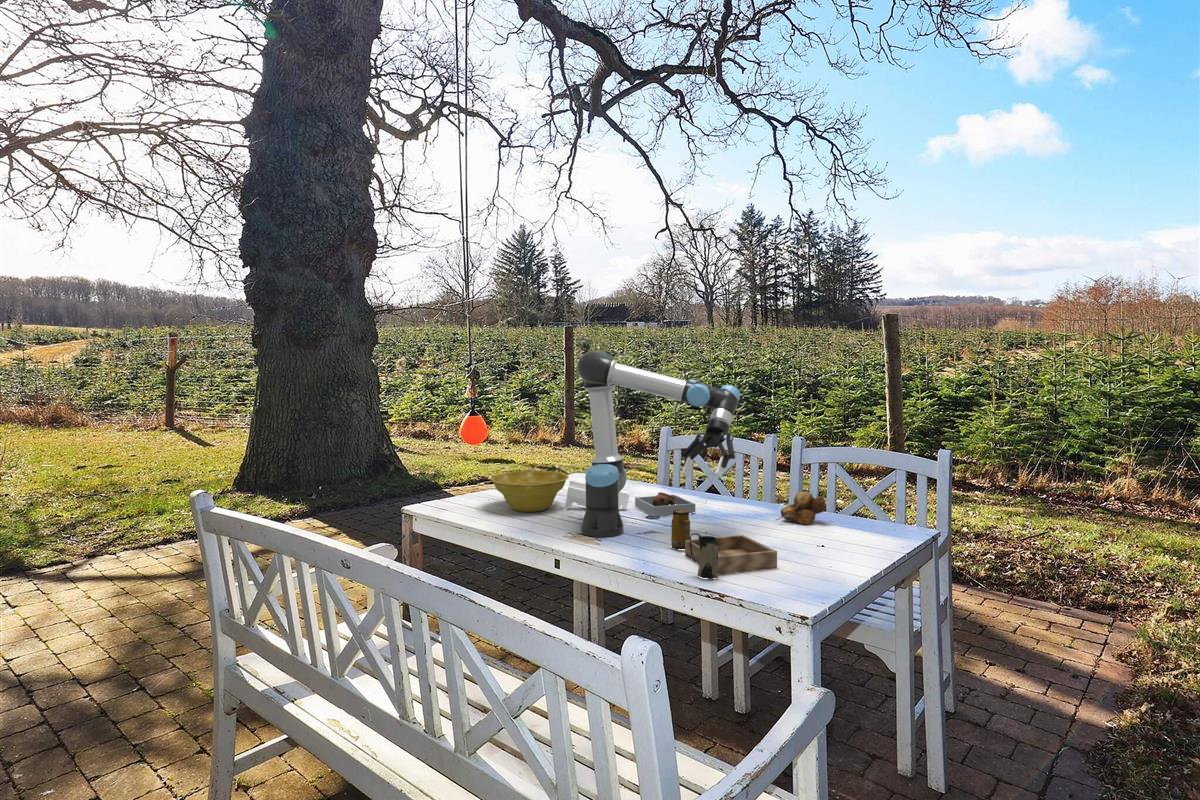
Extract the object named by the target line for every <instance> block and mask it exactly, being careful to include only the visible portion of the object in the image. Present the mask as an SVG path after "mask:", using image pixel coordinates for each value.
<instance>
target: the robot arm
mask: <svg viewBox="0 0 1200 800" xmlns="http://www.w3.org/2000/svg"><path fill="white" fill-rule="evenodd" d="M576 369H577V373H578V375H579V377H580V378H581V379H582V380H583V386H584V390H585V391H587V392H588V396H589V406H590V415H591V416H590V417H591V426H592V427H591V428H592V436H593V445H594V454H595V455H594V456H595V457H594V458H593V459H592V460H591V465H590V466H589V467H588V468H587V469H586V470H585V476H584V479H585V483H586V506H585V512H584V516H583V518H582V522H581V525H580V533H581V534H583V535H585V536H588V537H595V538H608V537H609V538H610V537H616V536H620V535H623V533H624V524H623V521H622V517H621V515H620V511H619V509H620V508H618V493H619V492H620V491H623V489H624V487H625V485H626V482H627V472H626V470H625V468H624V460H623V457H622V456H621V455H619V452H618V451H619V450H618V442H617V431H616V420H615V412H614V402H613V401H614V399H613V390H614V389H615V387H616V386H618V387H623V388H627V389H631V390H634V391H635V390H636V391H639V392H643V393H646V394H650V395H654V396H658V397H663V398H666V399H670V400H673V401H678V402H682V403H685V404H688V405H689V404H690V406H693V407H697V408H700V407H703V406H704V407H705V406H706V407H708V408H710V409H712V412H711V414H710V418H709V420H708V423H707V425H706V427H705V434H704V435H701V434H700V433H698V434H697V435H696V436H695V439H694V440H693V441H692V442H691V443H690V444H689V446H688V447H687V448H686V449H685V450H684V451H683V453H681V456H682V457H683V458H684V459H685V460H684V462H683V468H682V471H681V474H682V475H683V476H684V477H685V478H688V477H689V474H690V471H691V468H692V466H693V463H694V459H695V458H696V457H697V456H699V455H700V454H702V452H703V451H704V450H707V449H711V448H714V449H715V448H717V447H718V449H719V451H720V452H721V454H722V456H720V459H719V461H718V464H717V466H716V470H715V475H716V476H717V477H718V479H719V478H722V476H723V473H724V470H725V469H726V468H727V466H728V463H729V461H730V460H735V458H736V455H735V450H734V449H735V448H734V443H733V440H734V437H733V435H732V434H731V433H730V432H729V430H730V427H731V424H732V421H733V418H734V415H735V412H736V410H737V407H738V405H739V401H740V397H741V393H740V390H739V389H738V387H736V386H734V385H727V384H724V385H722V386H721V388H718V387H715V386H713V385H708V384H706V383H703V382H701V381H699V380H695V379H688V380H685V379H681V378H677V377H673V376H670V375H665V374H662V373H659V372H654V371H649V370H646V369H642V368H638V367H635V366H630V365H626V364H623V363H619V362H618V361H617V360H616V358H613V357H612V356H611V355H610V354H609V353H607V352H605V351H603V350H601V351H598V350H590V351H586V352H585V353H583V354H581V356H580V357H579V359H578V361H577V363H576ZM724 442H726V448H727V451H726V449H725V447H724V445H723V443H724Z"/></svg>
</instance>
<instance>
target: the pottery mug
mask: <svg viewBox="0 0 1200 800" xmlns="http://www.w3.org/2000/svg"><path fill="white" fill-rule="evenodd" d="M670 495H671V494H668V493H665V492H662V491H659V492H658V494H657V495H654V496H655V497H654V498H653V499H654V500H653V502H652V505H653V506H667V505H669V504H670V505H675V503H674V500H675V498H673V497H672V496H670Z"/></svg>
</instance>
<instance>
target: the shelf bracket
mask: <svg viewBox="0 0 1200 800" xmlns="http://www.w3.org/2000/svg"><path fill="white" fill-rule="evenodd" d="M630 494H631V493H629V492H628V491H626V490H625V491H624V490H621V491H620V492H619V493H618V509H623V510H626V509H627V508H628V504H629V501H630V500H629V498H630ZM573 503H576V504H577V505H578V506H581V507H582V506H583V507H586V482H582V481H577V480H572V479H570V480H569V484H568V487H567V492H566V499H565V503H564V504H565V505H564V509H567V510H569V509H570V508H571V507H572V506H573Z"/></svg>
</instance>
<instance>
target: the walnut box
mask: <svg viewBox="0 0 1200 800" xmlns="http://www.w3.org/2000/svg"><path fill="white" fill-rule="evenodd" d="M714 537H715V536H714ZM715 538H717V545H718V574H722V575H726V574H725V573H731V574H736V573H735V572H739V573H746V572H745V571H748V572H753V571H752V570H756V571H762V570H763V569H765V570H770V569H772V570H773V569H777V568H778V550H775V549H774V548H771V547H769V546H767V545H765V544H763V543H760V542H759V541H757V540H755V539H753V538H750V537H748V536H745V534H744V535H743V534H737V535H736V534H735V535H727V536H726V535H725V536H716V537H715ZM691 541H692V553H693V556H694V557H698V558H693V557H692V555H691V550H690V540H685V551H684V553H685V556H684V557H686V556H687V557H686V558H688V559H689V558H690V559H689V560H691V559H692V560H693V561H692V560H691V561H692V562H694V561H695V562H694V563H696V562H697V563H698V565H699V538H695V539H694V538H693V539H691ZM697 563H696V564H697Z"/></svg>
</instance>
